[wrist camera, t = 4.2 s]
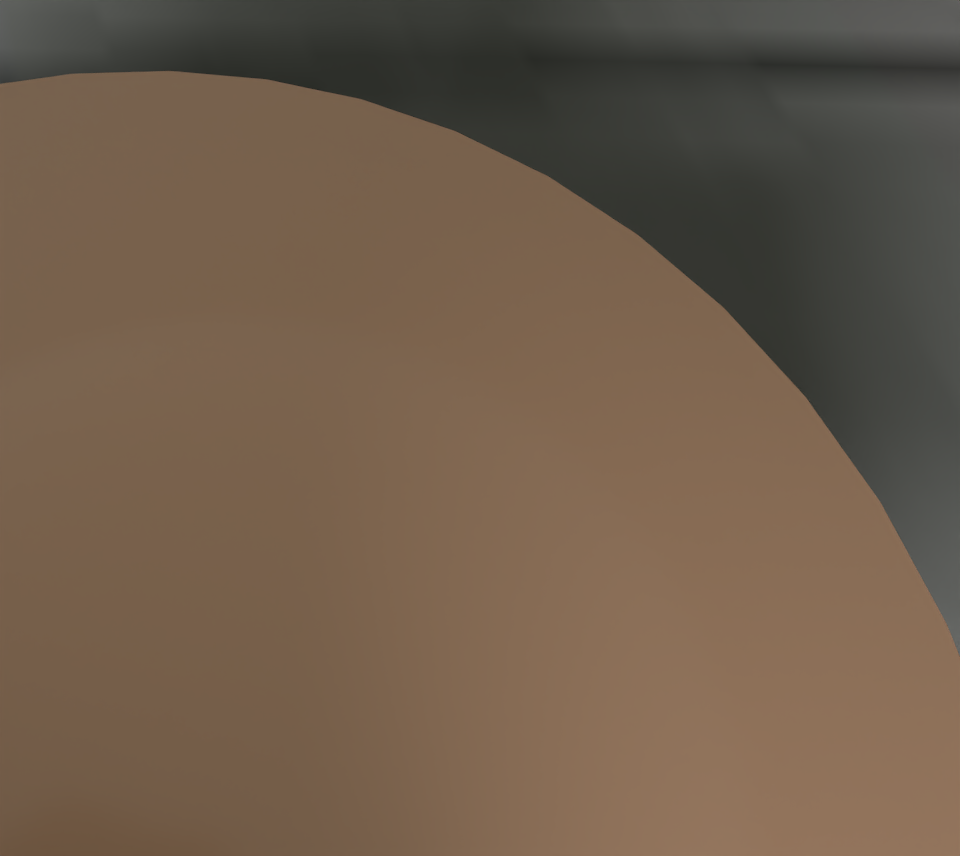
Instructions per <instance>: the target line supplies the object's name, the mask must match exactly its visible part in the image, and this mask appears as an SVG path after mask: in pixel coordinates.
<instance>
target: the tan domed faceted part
mask: <svg viewBox="0 0 960 856" xmlns="http://www.w3.org/2000/svg"><path fill="white" fill-rule="evenodd" d="M0 856H960V656H959V654H958V651H957V649H956V646H955V644H954V641H953V639H952V636H951V634H950V631H949V629H948V626H947V624H946V622H945V620H944V618H943V617H942V615H941V613H940V611H939V609H938V607H937V606H936V604H935V602H934V600H933V598H932V596H931V595H930V593H929V591H928V589H927V587H926V585H925V583H924V582H923V580H922V578H921V576H920V574H919V572H918V571H917V569H916V567H915V565H914V563H913V561H912V560H911V558H910V556H909V554H908V552H907V550H906V548H905V547H904V545H903V543H902V541H901V539H900V537H899V536H898V534H897V532H896V530H895V528H894V526H893V524H892V523H891V521H890V519H889V517H888V515H887V513H886V512H885V510H884V508H883V506H882V504H881V502H880V501H879V500H878V498H877V497H876V495H875V494H874V493H873V491H872V490H871V488H870V487H869V485H868V484H867V483H866V481H865V480H864V478H863V477H862V476H861V474H860V473H859V471H858V470H857V469H856V467H855V466H854V464H853V463H852V462H851V460H850V459H849V457H848V456H847V455H846V453H845V452H844V450H843V449H842V448H841V446H840V445H839V443H838V442H837V441H836V439H835V438H834V436H833V435H832V433H831V432H830V431H829V429H828V428H827V426H826V425H825V424H824V422H823V421H822V419H821V418H820V417H819V415H818V414H817V412H816V411H815V410H814V408H813V407H812V405H811V404H810V403H809V401H808V400H807V398H806V397H805V396H804V395H803V394H802V393H801V391H800V390H799V389H798V388H797V387H796V386H795V385H794V384H793V383H792V382H791V381H790V379H789V378H788V377H787V376H786V375H785V374H784V373H783V372H782V371H781V370H780V369H779V367H778V366H777V365H776V364H775V363H774V362H773V361H772V360H771V359H770V358H769V357H768V355H767V354H766V353H765V352H764V351H763V350H762V349H761V348H760V347H759V346H758V345H757V343H756V342H755V341H754V340H753V339H752V338H751V337H750V336H749V335H748V334H747V333H746V331H745V330H744V329H743V328H742V327H741V326H740V325H739V324H738V323H737V322H736V321H735V319H734V318H733V317H732V316H731V315H730V314H729V313H728V312H727V311H726V310H725V309H724V308H723V307H722V306H721V305H720V304H719V303H717V302H716V301H715V300H714V299H713V298H712V297H710V296H709V295H708V294H707V293H706V292H705V291H703V290H702V289H701V288H700V287H699V286H697V285H696V284H695V283H694V282H693V281H692V280H690V279H689V278H688V277H687V276H686V275H685V274H683V273H682V272H681V271H680V270H679V269H677V268H676V267H675V266H674V265H673V264H672V263H670V262H669V261H668V260H667V259H666V258H664V257H663V256H662V255H661V254H660V253H659V252H657V251H656V250H655V249H654V248H653V247H652V246H650V245H649V244H648V243H647V242H646V241H644V240H643V239H642V238H641V237H640V236H639V235H637V234H636V233H634V232H633V231H631V230H630V229H628V228H627V227H625V226H624V225H622V224H620V223H619V222H617V221H616V220H614V219H613V218H611V217H610V216H608V215H607V214H605V213H604V212H602V211H601V210H599V209H597V208H596V207H594V206H593V205H591V204H590V203H588V202H587V201H585V200H584V199H582V198H581V197H579V196H578V195H576V194H574V193H573V192H571V191H570V190H568V189H567V188H565V187H564V186H562V185H561V184H559V183H558V182H556V181H555V180H553V179H551V178H550V177H548V176H547V175H544V174H542V173H540V172H538V171H536V170H534V169H532V168H530V167H528V166H526V165H524V164H522V163H520V162H518V161H516V160H514V159H512V158H509V157H507V156H505V155H503V154H501V153H499V152H497V151H495V150H493V149H491V148H489V147H487V146H485V145H483V144H481V143H479V142H477V141H474V140H472V139H470V138H468V137H466V136H464V135H462V134H460V133H458V132H456V131H453V130H450V129H447V128H444V127H442V126H439V125H436V124H433V123H430V122H427V121H424V120H421V119H418V118H415V117H412V116H409V115H406V114H403V113H400V112H397V111H394V110H392V109H389V108H386V107H383V106H380V105H377V104H374V103H371V102H368V101H365V100H362V99H358V98H353V97H348V96H344V95H339V94H334V93H329V92H324V91H320V90H315V89H310V88H305V87H300V86H296V85H291V84H286V83H281V82H276V81H272V80H267V79H257V78H245V77H234V76H222V75H211V74H199V73H188V72H176V71H150V72H115V73H80V74H67V75H60V76H53V77H46V78H39V79H32V80H25V81H18V82H10V83H3V84H0Z"/></svg>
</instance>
